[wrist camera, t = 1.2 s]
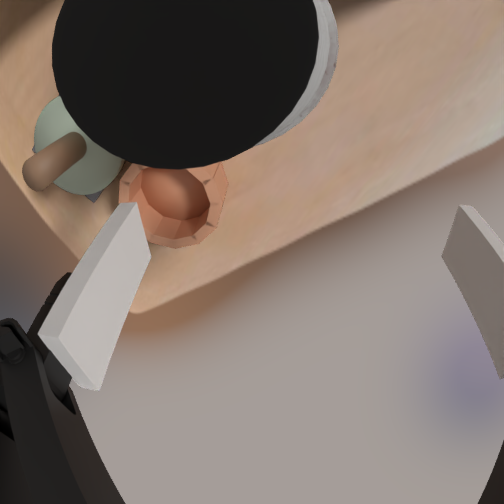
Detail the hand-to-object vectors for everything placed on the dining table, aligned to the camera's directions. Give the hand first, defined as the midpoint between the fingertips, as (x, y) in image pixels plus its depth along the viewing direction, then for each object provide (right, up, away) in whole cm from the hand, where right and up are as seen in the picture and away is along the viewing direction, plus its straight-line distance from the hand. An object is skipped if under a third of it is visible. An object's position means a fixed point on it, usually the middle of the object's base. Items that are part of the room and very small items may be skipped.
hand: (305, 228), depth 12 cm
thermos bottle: (-2, +19, +14) cm, 24 cm away
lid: (-23, +12, +20) cm, 33 cm away
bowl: (-11, +7, +24) cm, 27 cm away
